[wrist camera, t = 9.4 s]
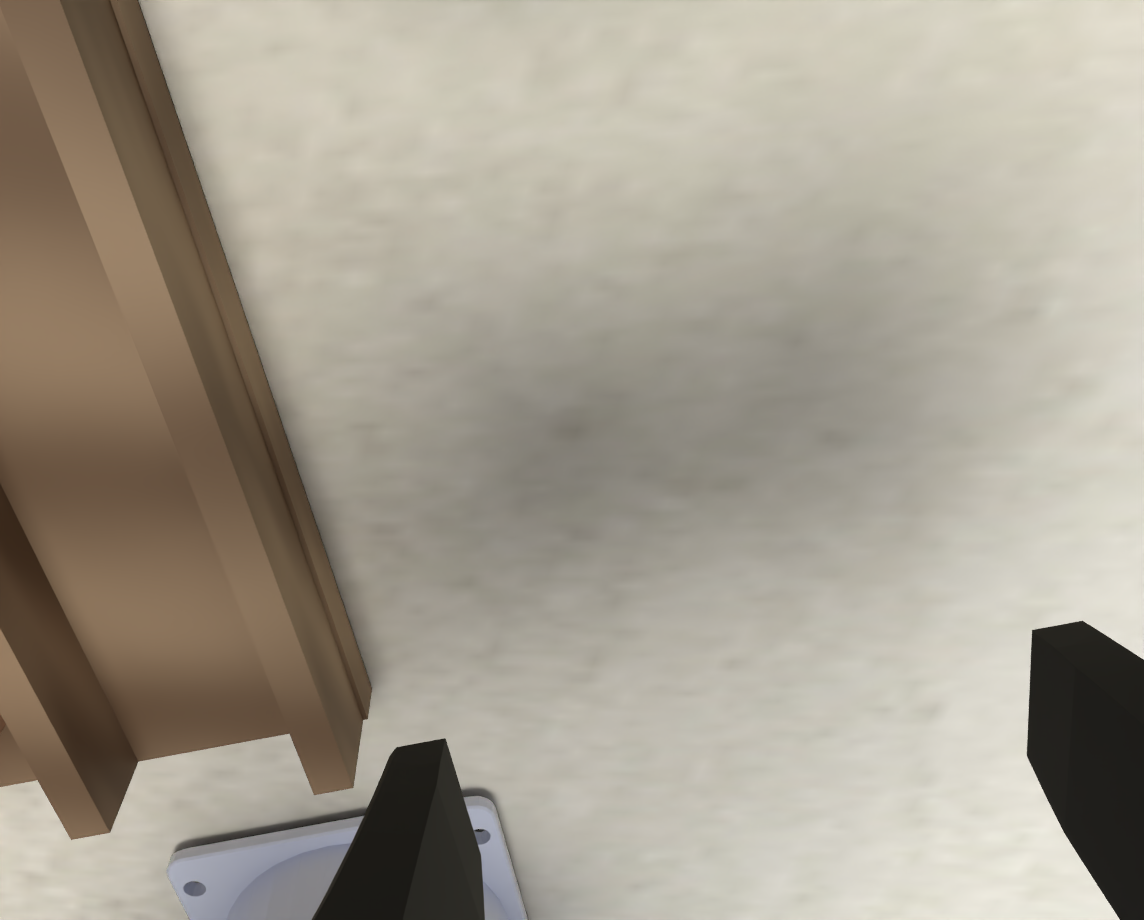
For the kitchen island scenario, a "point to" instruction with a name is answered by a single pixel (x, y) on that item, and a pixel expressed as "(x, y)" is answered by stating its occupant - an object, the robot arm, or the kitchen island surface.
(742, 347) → the kitchen island surface
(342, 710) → the rack
